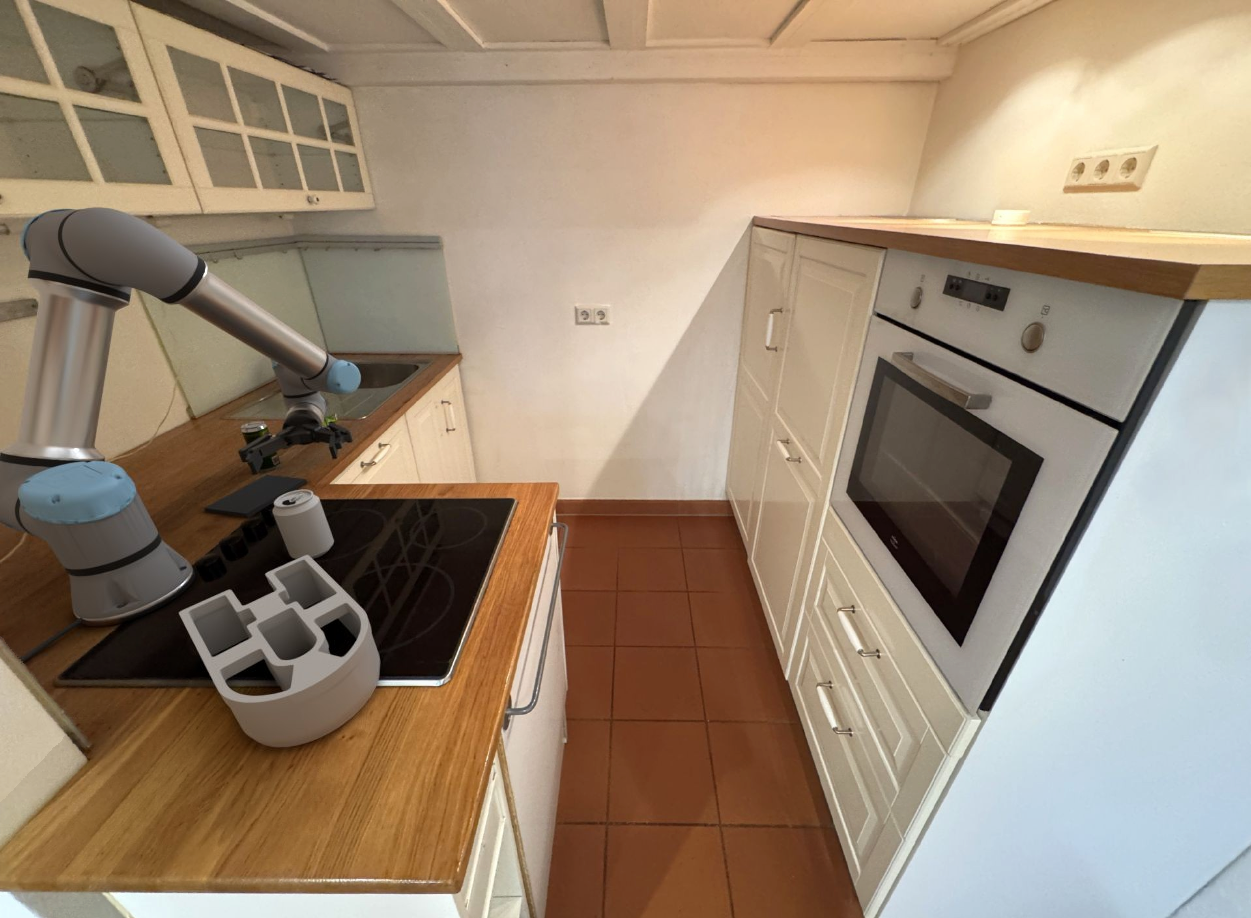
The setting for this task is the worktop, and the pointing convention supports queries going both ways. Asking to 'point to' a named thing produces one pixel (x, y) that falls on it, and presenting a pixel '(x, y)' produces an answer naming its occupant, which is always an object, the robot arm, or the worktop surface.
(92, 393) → the robot arm
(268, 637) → the desk organizer caddy
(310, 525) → the can
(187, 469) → the worktop surface
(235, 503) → the mat
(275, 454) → the beer can
